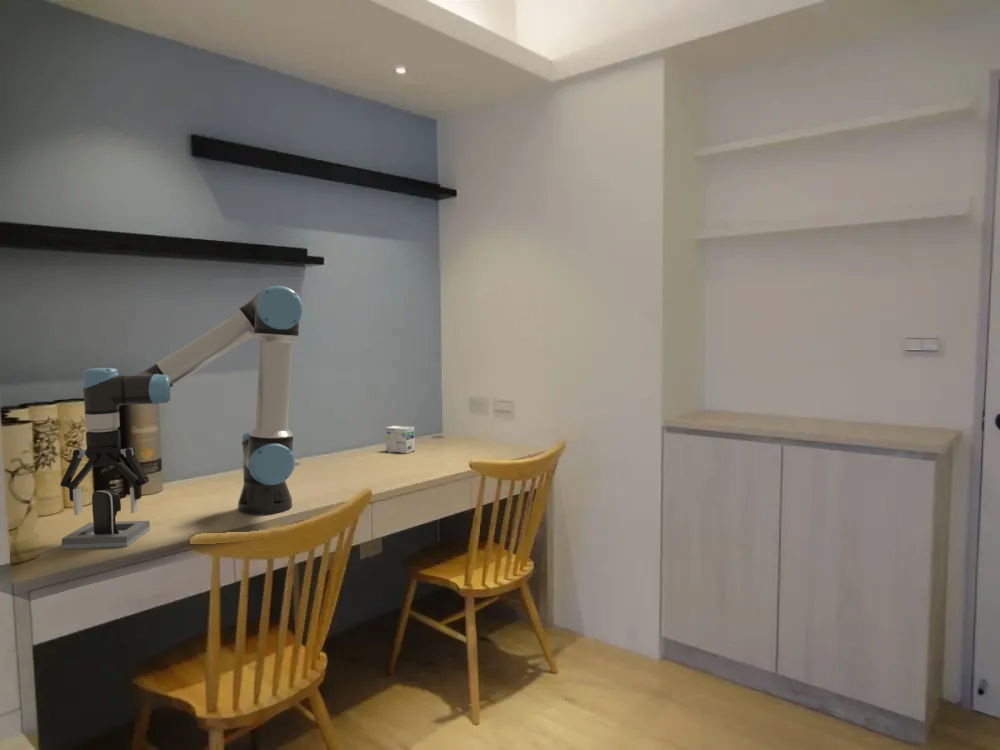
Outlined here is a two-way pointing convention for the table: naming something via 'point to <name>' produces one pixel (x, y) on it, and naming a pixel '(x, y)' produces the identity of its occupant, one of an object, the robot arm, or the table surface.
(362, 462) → the table surface
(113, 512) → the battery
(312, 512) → the table surface
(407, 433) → the light bulb box
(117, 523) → the dock
